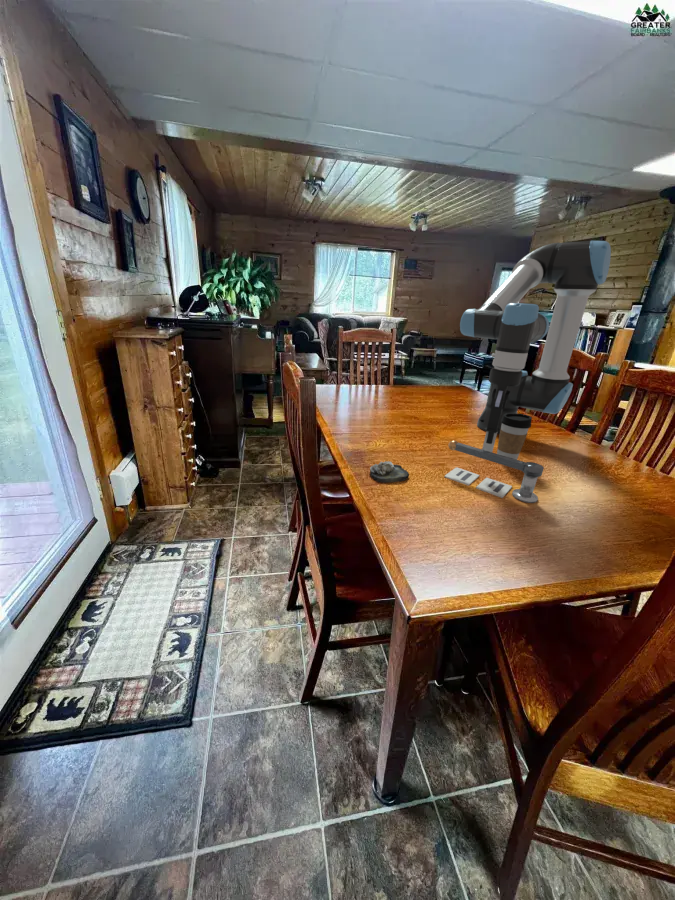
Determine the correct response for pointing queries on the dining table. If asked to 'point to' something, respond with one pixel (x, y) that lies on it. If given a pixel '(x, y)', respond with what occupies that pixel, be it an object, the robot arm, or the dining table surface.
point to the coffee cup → (513, 434)
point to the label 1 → (462, 476)
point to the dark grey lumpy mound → (388, 472)
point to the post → (526, 490)
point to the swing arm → (499, 459)
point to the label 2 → (494, 487)
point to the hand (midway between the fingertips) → (486, 452)
